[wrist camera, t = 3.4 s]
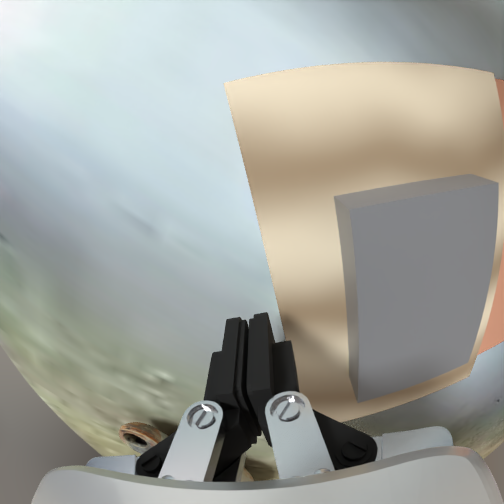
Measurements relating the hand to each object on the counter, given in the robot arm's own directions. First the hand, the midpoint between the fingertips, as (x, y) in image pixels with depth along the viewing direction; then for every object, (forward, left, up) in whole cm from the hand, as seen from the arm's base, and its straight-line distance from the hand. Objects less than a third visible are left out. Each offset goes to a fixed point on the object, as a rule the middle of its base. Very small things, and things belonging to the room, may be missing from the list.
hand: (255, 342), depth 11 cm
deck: (0, +8, -3) cm, 8 cm away
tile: (0, +8, 0) cm, 8 cm away
